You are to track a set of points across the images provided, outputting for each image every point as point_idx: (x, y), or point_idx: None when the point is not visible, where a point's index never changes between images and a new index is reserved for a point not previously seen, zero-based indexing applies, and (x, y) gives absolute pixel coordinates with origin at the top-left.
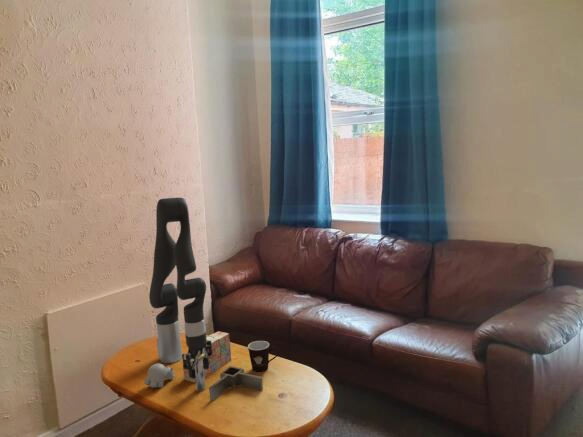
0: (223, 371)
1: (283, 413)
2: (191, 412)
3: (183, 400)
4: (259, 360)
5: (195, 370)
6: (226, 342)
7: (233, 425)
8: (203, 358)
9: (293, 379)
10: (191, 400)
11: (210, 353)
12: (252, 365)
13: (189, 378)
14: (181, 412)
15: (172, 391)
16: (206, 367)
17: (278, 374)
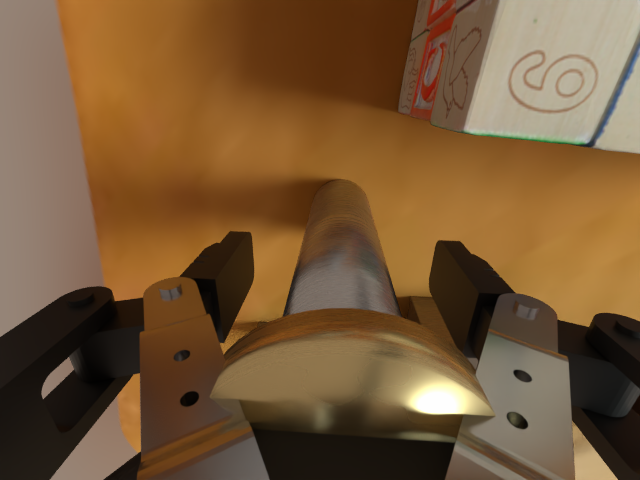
0: (468, 359)
1: None
2: (137, 297)
3: (187, 187)
4: None
5: (295, 268)
6: None
7: None
8: (488, 317)
9: None
10: (213, 232)
11: (587, 426)
12: (638, 401)
13: (416, 38)
14: (105, 254)
15: (227, 14)
16: (435, 285)
17: (576, 466)
